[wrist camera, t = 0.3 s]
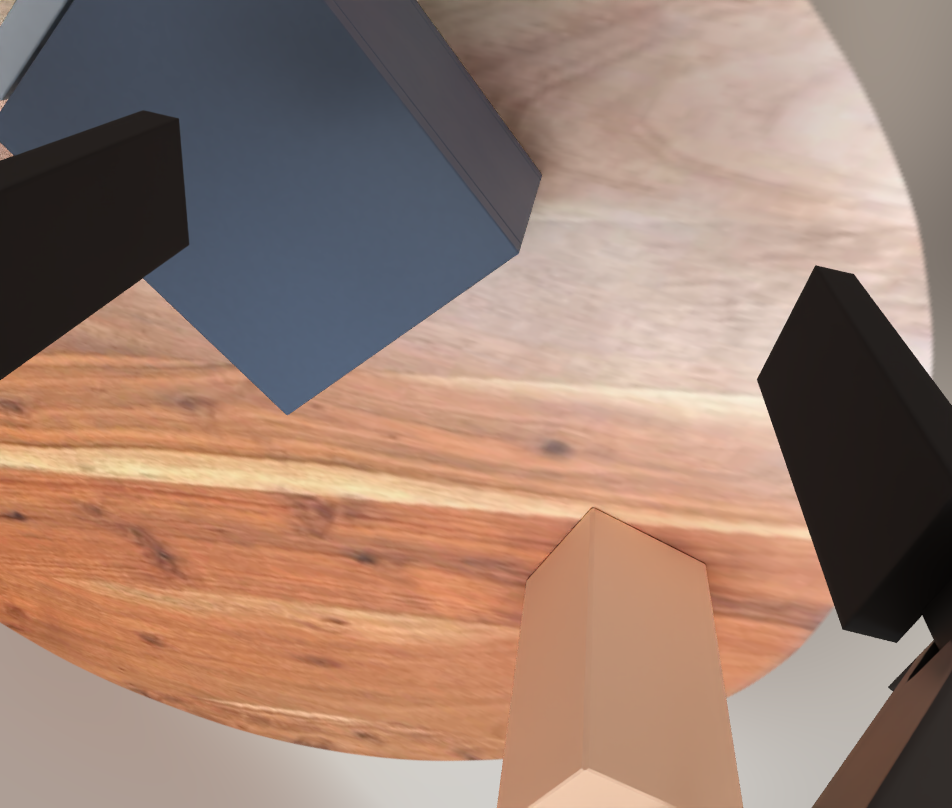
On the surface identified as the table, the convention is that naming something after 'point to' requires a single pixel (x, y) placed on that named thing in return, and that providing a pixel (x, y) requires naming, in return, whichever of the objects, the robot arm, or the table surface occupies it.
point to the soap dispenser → (618, 680)
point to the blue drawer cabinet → (297, 167)
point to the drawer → (26, 38)
